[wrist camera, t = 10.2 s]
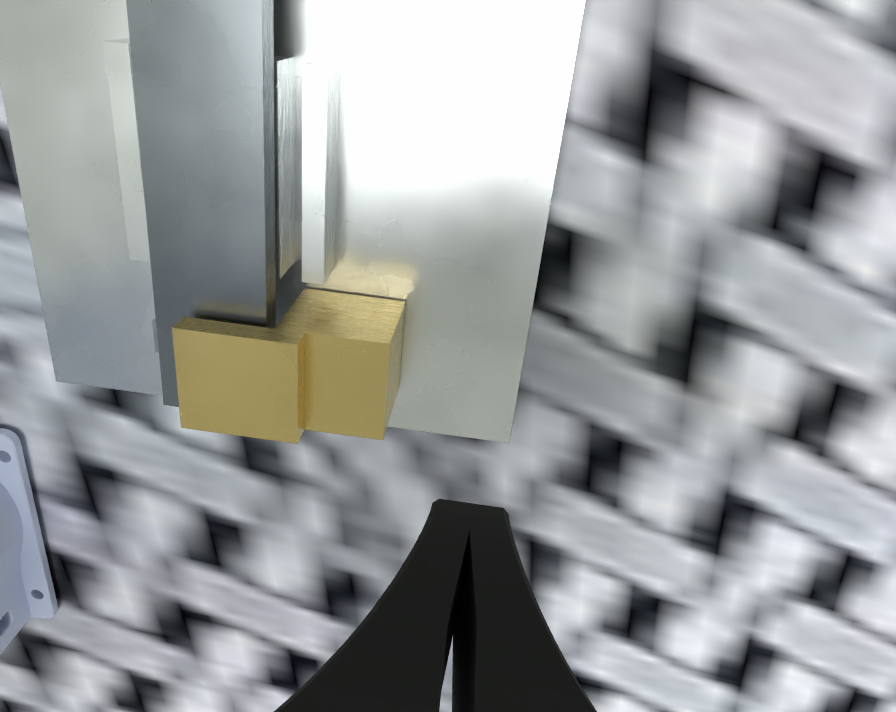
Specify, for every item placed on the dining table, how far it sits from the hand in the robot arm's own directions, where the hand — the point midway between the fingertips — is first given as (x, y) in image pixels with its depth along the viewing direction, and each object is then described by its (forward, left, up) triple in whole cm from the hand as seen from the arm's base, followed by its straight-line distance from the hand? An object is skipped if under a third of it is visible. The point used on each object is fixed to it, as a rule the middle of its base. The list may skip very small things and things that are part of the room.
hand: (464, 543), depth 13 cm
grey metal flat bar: (+4, +7, -7) cm, 11 cm away
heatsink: (+4, +6, -10) cm, 12 cm away
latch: (0, +5, -8) cm, 10 cm away
